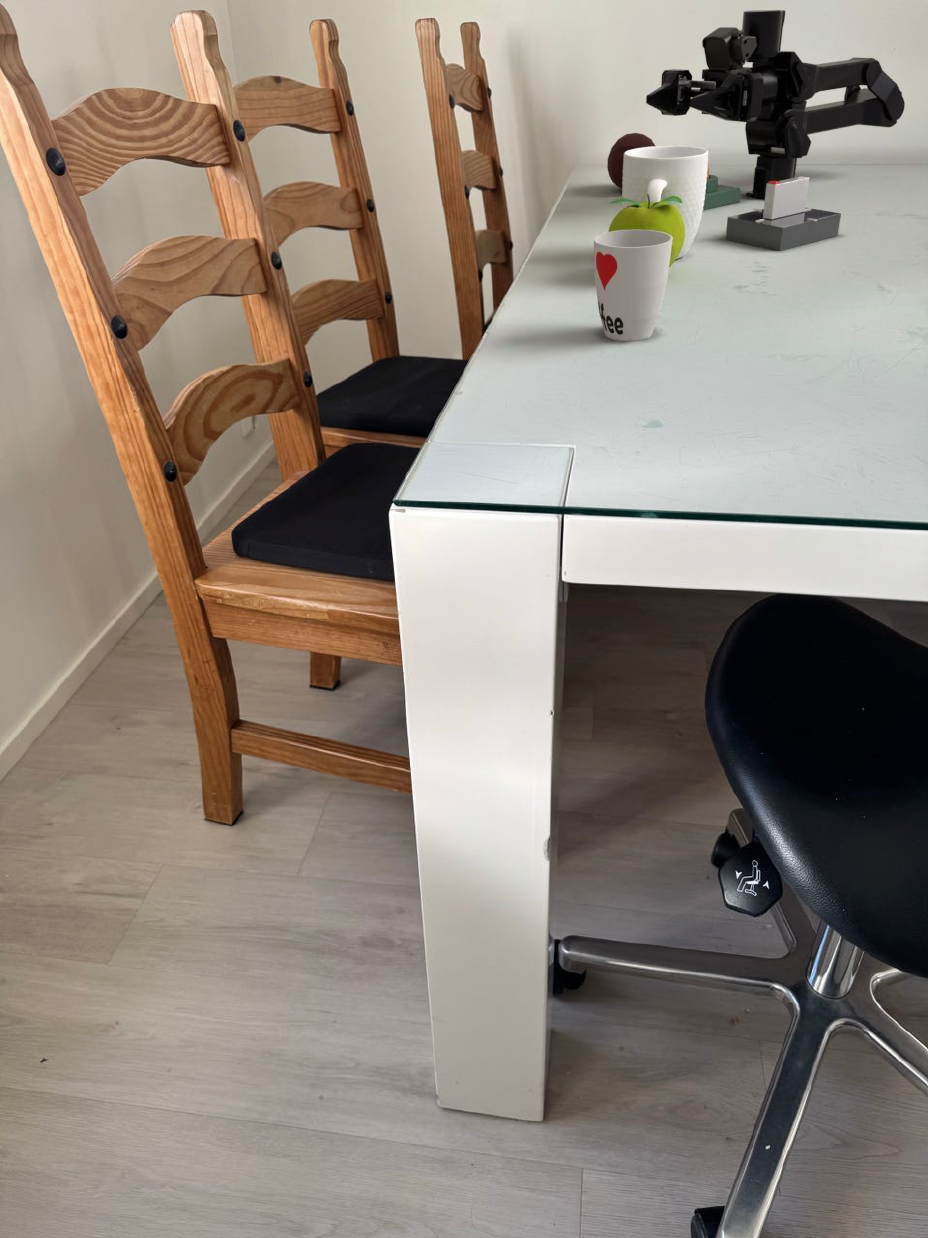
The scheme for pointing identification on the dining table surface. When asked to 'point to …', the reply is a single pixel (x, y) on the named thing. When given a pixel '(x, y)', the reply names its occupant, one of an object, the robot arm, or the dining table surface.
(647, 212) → the fruit
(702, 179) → the mug
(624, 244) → the cup
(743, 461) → the dining table surface
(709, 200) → the tap control
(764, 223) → the base
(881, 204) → the dining table surface
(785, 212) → the red-tipped white block
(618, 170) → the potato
